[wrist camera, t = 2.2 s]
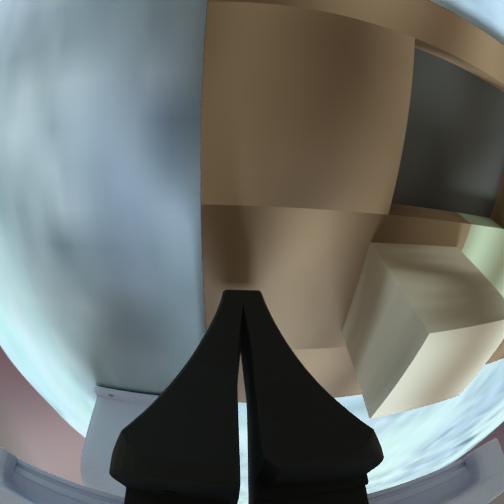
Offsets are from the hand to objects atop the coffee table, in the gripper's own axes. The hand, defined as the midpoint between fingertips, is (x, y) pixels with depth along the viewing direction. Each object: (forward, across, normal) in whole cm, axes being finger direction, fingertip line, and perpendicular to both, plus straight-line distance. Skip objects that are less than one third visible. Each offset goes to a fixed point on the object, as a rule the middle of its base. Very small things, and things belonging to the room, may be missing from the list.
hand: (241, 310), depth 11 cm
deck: (+3, -12, -2) cm, 13 cm away
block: (+1, -8, 0) cm, 8 cm away
